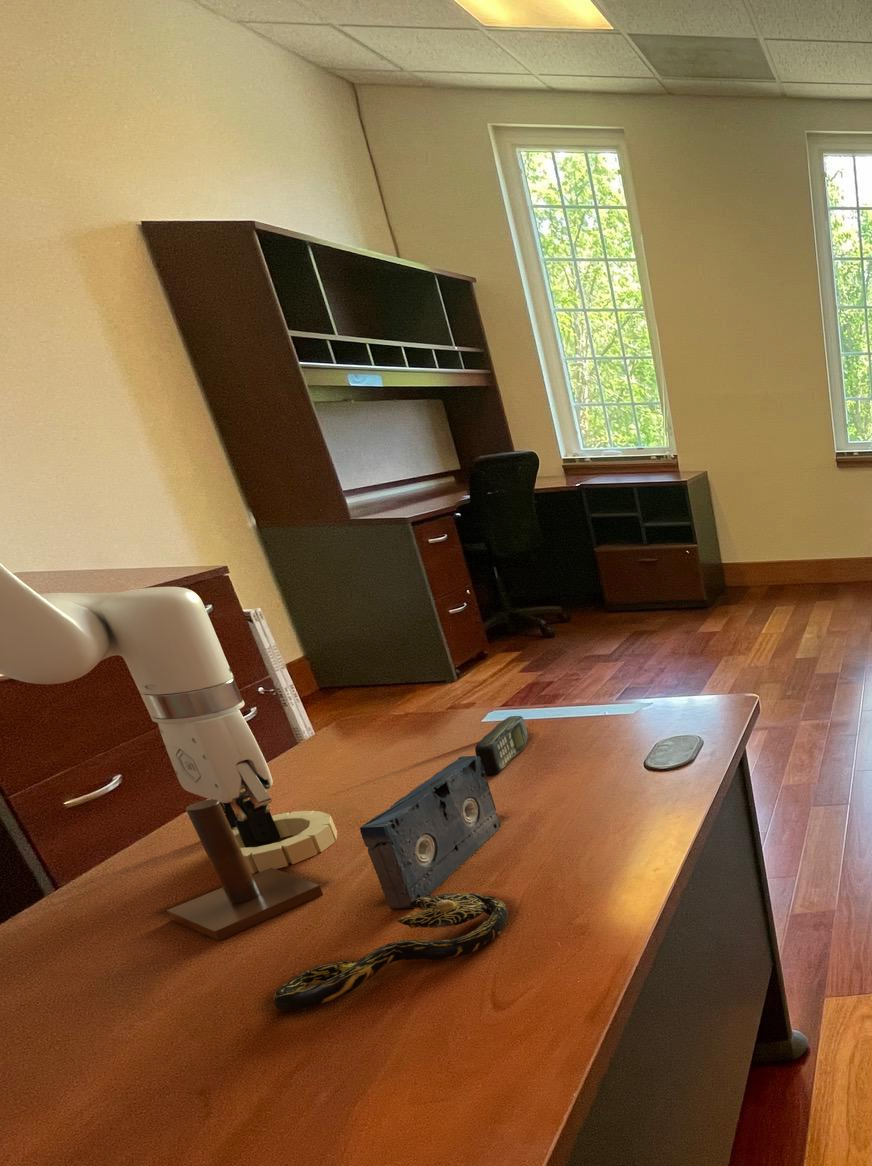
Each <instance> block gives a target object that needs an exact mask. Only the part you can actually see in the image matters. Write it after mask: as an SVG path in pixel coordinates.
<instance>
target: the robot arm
mask: <svg viewBox="0 0 872 1166" xmlns="http://www.w3.org/2000/svg"><path fill="white" fill-rule="evenodd" d="M113 656H120V657H122V659H123V660H124V662H125V663H126V666H127V668H128V671H129V673H130V675H131V677H132V679H133V681H134V683H135V686H136V687H137V690H138V692H139V694H140V696H141V699H142V701H143V703H144V705H145V707H146V709H147V711H148V714H149V716H150V718H151V721H152V722H153V723H156V724H157V725H158V728H159V729H158V730H159V733H160V735H161V738H162V742H163V745H164V747H165V750H166V752H167V756H168V757H169V760H170V762H171V765H172V767H173V770H174V772H175V775H176V778H177V780H178V781H179V782H178V783H179V784H180V786H181V788H182V789H183V790H184V791H186V792H188V793H190V794H194V795H195V796H199V797H201V798H205V799H207V800H218V801H219V802H220V805H221V807H222V809H223V811H224V813H225V816H226V818H227V820H228V822H229V825H230V827H231V829H232V828H234V827H237V829H238V831H239V834H240V836H241V838H242V840H243V843H244V845H245V847H246V848H248V847H259V846H263V845H268V844H272V843H277V842H279V841H281V838H280V835H279V832H278V830H277V828H276V825H275V823H274V821H273V818H272V816H273V815H272V814H271V808H270V806H269V804H271V803H273V799H272V796H270V794H269V793H268V791H267V790H270V789H271V788H272V786H273V785H274V781H273V777H272V774H271V771H270V768H269V766H268V763H267V761H266V758H265V756H264V755H263V752H262V750H261V747H260V745H259V743H258V742H257V740H256V737H255V736H254V734H253V731H252V730H251V728H250V726H249V724H248V723H247V721H246V719H245V717H244V716H243V714H242V712H241V709H242V708H243V707H244V706H245V701H244V699H243V696H242V693H241V691H240V689H239V687H238V685H237V682H236V679H235V677H234V674H233V672H232V669H231V667H230V665H229V663H228V660H227V658H226V656H225V653H224V650H223V648H222V645H221V643H220V640H219V638H218V636H217V634H216V631H215V628H214V626H213V623H212V621H211V619H210V616H209V613H208V612H207V609H206V606H205V604H204V603H203V600H202V598H201V597H200V596H199V595H198V593H196V592H195V591H193V590H192V589H189V588H186V587H182V586H181V587H180V586H154V587H153V586H152V587H144V588H135V589H128V590H124V591H119V592H46V593H38V592H36V591H35V590H34V589H32V588H31V587H30V586H29V585H27V584H26V583H25V582H23V581H22V580H21V579H20V578H18V577H17V576H16V575H15V574H13V573H12V572H11V571H10V570H9V569H7V568H6V567H5V566H4V565H3V564H2V563H1V562H0V675H2V676H5V677H7V678H9V679H12V680H16V681H20V682H23V683H29V684H33V685H59V684H65V683H68V682H72V681H75V680H77V679H79V678H82V677H84V676H85V675H87V674H88V673H90V672H92V670H93V669H94V668H95V667H96V666H97V665H98V664H99V663H100V662H102V661H104V660H106V659H108V658H110V657H113Z"/></svg>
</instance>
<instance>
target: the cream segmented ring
mask: <svg viewBox="0 0 872 1166" xmlns="http://www.w3.org/2000/svg"><path fill="white" fill-rule="evenodd" d="M271 816H272V818H273V821H274V823H275V825H276V828H277V830H278V832H279V835H280V839H282V838H286V837H288V838H286V839H283V840H279V841H276V842H274V843H271V844H268V845H263V846H259V847H248V848H246V847H245V845H244V843H243V840H242V838H241V836H240V834H239V831H238V829H237V827H234V828H232V831H233V833H234V836H235V838H236V840H237V842H238V845H239V847H240V849H241V851H242V853H243V856H244V858H245V860H246V862H247V865H248V867H249V869H250V871H251V874H252V875H255V874H257V873H260V872H262V871H264V870H267V869H269V868H274V869H276V870H279V869H281V868H285V867H289V864H291V865H295V864H298V863H300V862H303V861H305V860H307V859H309V858H312V857H314V856H317V855H318V854H319V853H323V852H324V851H325V850H327V849H328V848H329V847H331V846H332V845H333V844H335V843H336V841H337V840H338V830H337V828H336V825H335V822H334V820H333V817H332V815H330V814H329V813H326V812H322V811H319V810H317V811H315V810H300V811H299V810H298V811H296V810H295V811H291V812H290V813H289V812H288V811H287V812H283V813H278V814H273V815H271ZM290 836H291V837H290Z"/></svg>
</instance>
